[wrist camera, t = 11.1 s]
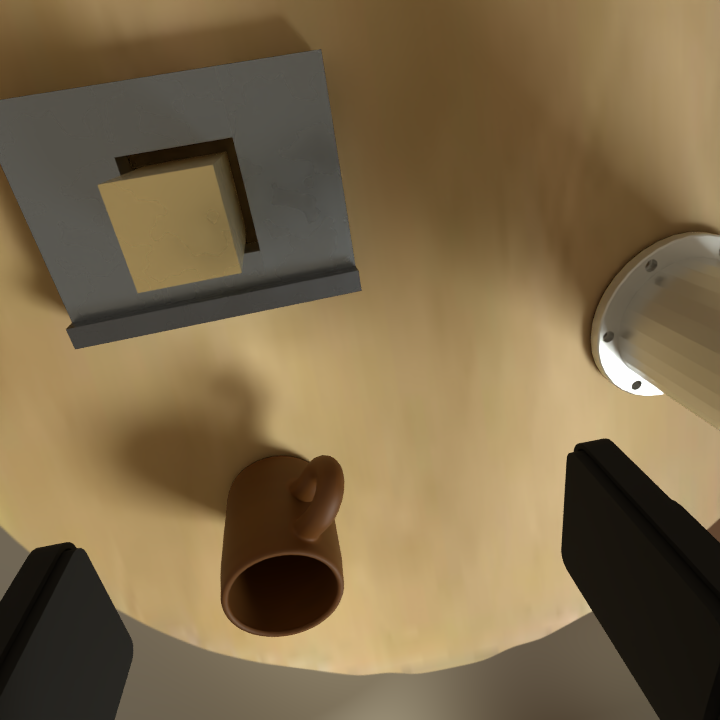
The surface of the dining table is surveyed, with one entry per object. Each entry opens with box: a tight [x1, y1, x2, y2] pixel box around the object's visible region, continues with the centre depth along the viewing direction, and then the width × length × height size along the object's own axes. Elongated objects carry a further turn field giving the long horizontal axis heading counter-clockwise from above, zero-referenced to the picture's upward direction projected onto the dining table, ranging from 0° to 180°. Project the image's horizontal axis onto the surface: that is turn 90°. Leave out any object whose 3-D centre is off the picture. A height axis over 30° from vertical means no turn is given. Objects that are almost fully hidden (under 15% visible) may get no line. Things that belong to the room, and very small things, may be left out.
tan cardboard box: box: [98, 152, 247, 293], centre depth 24 cm, size 4×4×9 cm
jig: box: [0, 49, 362, 349], centre depth 26 cm, size 16×12×4 cm
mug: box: [221, 455, 344, 637], centre depth 33 cm, size 12×8×9 cm, turn 154°
